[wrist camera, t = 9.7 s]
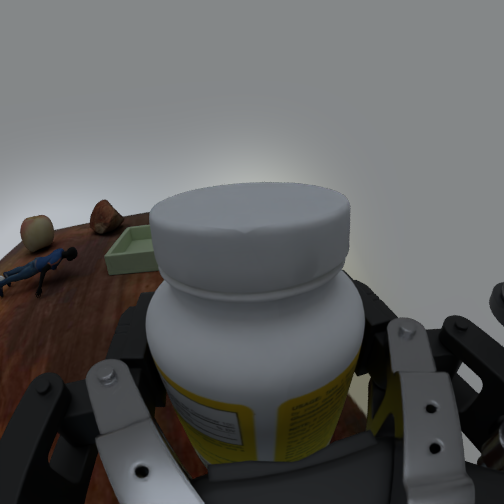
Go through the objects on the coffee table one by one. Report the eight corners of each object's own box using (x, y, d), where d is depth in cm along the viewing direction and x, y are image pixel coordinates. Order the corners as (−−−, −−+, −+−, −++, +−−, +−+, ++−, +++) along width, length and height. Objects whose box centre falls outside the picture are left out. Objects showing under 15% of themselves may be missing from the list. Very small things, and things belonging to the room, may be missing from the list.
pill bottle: (312, 386, 14) (333, 176, 9) (338, 482, 8) (450, 234, 4) (200, 393, 13) (158, 185, 9) (192, 494, 8) (57, 257, 3)
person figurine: (-4, 316, 27) (78, 285, 32) (-17, 292, 25) (64, 257, 30) (17, 284, 36) (89, 255, 41) (7, 264, 34) (80, 232, 39)
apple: (23, 253, 47) (15, 221, 44) (52, 240, 54) (45, 209, 51) (30, 260, 43) (20, 224, 40) (62, 245, 50) (54, 211, 47)
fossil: (94, 211, 62) (102, 179, 57) (123, 219, 66) (133, 188, 61) (82, 244, 53) (89, 209, 48) (115, 253, 57) (125, 219, 52)
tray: (203, 234, 51) (202, 218, 50) (203, 266, 38) (201, 246, 37) (130, 242, 49) (127, 227, 48) (109, 275, 37) (104, 256, 35)
